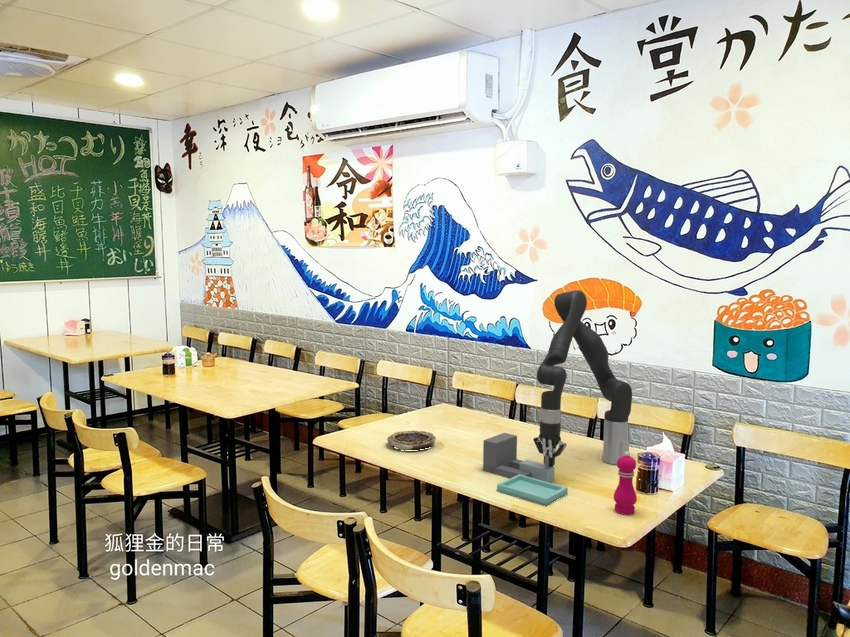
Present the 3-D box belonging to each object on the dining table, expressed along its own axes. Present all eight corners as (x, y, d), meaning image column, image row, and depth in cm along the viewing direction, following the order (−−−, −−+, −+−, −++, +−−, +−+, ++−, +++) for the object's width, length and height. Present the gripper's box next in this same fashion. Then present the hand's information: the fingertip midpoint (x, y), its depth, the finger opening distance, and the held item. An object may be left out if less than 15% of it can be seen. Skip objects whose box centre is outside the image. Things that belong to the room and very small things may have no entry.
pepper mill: (608, 510, 215) (611, 451, 213) (620, 504, 220) (622, 446, 218) (629, 517, 210) (631, 456, 208) (640, 511, 215) (642, 451, 213)
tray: (567, 494, 229) (567, 487, 229) (546, 506, 218) (546, 498, 218) (519, 480, 242) (519, 474, 242) (497, 491, 232) (497, 484, 231)
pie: (455, 450, 280) (455, 438, 279) (400, 461, 265) (400, 449, 265) (420, 434, 303) (420, 423, 303) (368, 444, 289) (368, 433, 288)
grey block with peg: (554, 479, 243) (554, 453, 242) (546, 483, 240) (547, 456, 239) (526, 472, 251) (527, 446, 250) (519, 475, 248) (520, 449, 246)
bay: (545, 472, 251) (545, 442, 250) (524, 482, 240) (525, 450, 239) (503, 461, 263) (504, 432, 262) (483, 470, 253) (483, 440, 252)
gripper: (572, 421, 238) (570, 467, 240) (539, 414, 247) (538, 459, 249) (561, 425, 232) (560, 473, 234) (528, 418, 241) (527, 464, 243)
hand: (549, 465), depth 241 cm, fingers closed on grey block with peg, 1 cm apart
